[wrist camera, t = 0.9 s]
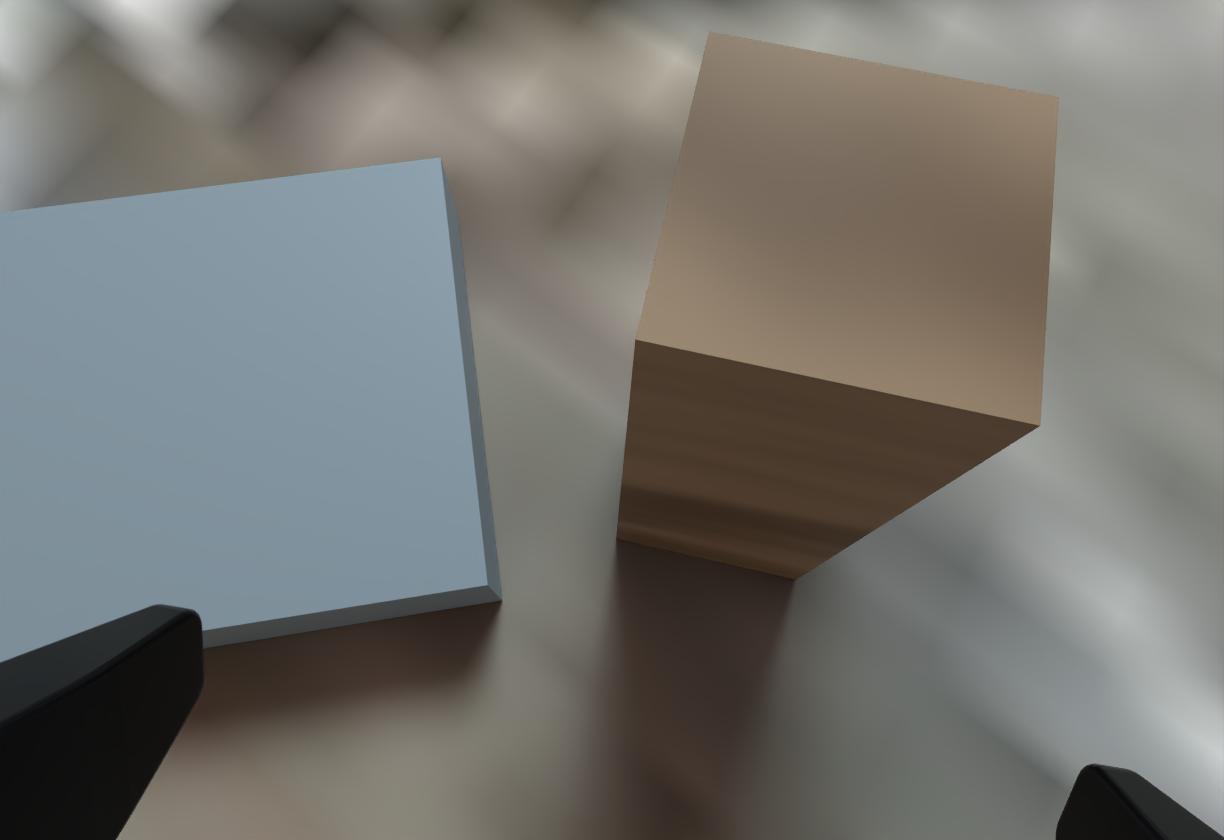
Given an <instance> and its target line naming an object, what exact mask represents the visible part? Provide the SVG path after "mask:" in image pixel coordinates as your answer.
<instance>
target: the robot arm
mask: <svg viewBox="0 0 1224 840" xmlns="http://www.w3.org/2000/svg"><path fill="white" fill-rule="evenodd" d="M204 674H205V672H204V652H203V631H202V621H201V618H200V615H199V614H198V613H197V612H196V611H195V610H193V609H189V608H183V607H177V606H171V605H165V604H156V605H152V606H149V607H147V608H144V609H141V610H139V611H136V612H133V613H131V614H128V615H125V616H123V617H120V618H117V619H115V620H112V621H109V622H107V623H104V624H101V625H99V626H96V627H93V628H91V629H88V630H85V631H83V632H80V633H77V634H75V635H72V636H69V637H67V638H64V639H61V640H58V641H56V642H53V643H50V644H48V645H45V646H42V647H40V648H37V649H34V650H32V651H29V652H26V653H24V654H21V655H18V656H16V657H13V658H10V659H8V660H5V661H2V662H0V840H116V839H117V837H118V836H119V834H120V832H121V831H122V829H123V828H124V826H125V824H126V823H127V821H128V819H129V818H130V816H131V815H132V813H133V811H134V809H135V808H136V806H137V804H138V803H139V801H140V799H141V797H142V796H143V794H144V792H145V790H146V789H147V787H148V785H149V784H150V782H151V780H152V778H153V777H154V775H155V773H156V771H157V770H158V768H159V766H160V765H161V763H162V761H163V759H164V758H165V756H166V754H167V752H168V751H169V749H170V747H171V746H172V744H173V742H174V740H175V739H176V737H177V735H178V733H179V732H180V730H181V728H182V727H183V725H184V723H185V721H186V720H187V718H188V716H189V715H190V713H191V711H192V709H193V708H194V706H195V704H196V702H197V700H198V698H199V696H200V694H201V691H202V688H203V684H204ZM1056 840H1224V837H1223V836H1221V835H1220V834H1219V833H1217V832H1216V831H1215V830H1213V829H1212V828H1210V827H1209V826H1208V825H1206V824H1205V823H1204V822H1202V821H1201V820H1200V819H1198V818H1197V817H1196V816H1194V815H1193V814H1192V813H1190V812H1189V811H1187V810H1186V809H1185V808H1183V807H1182V806H1181V805H1179V804H1178V803H1177V802H1175V801H1174V800H1173V799H1171V798H1170V797H1169V796H1167V795H1166V794H1164V793H1163V792H1162V791H1160V790H1159V789H1158V788H1156V787H1155V786H1154V785H1152V784H1151V783H1150V782H1148V781H1147V780H1146V779H1144V778H1143V777H1141V776H1140V775H1139V774H1137V773H1136V772H1133V771H1131V770H1128V769H1123V768H1118V767H1112V766H1106V765H1100V764H1090V765H1087V766H1085V767H1084V768H1083V769H1082V770H1081V771H1080V773H1079V775H1078V777H1077V779H1076V782H1075V784H1074V786H1073V789H1072V791H1071V793H1070V796H1069V798H1068V800H1067V803H1066V805H1065V807H1064V810H1063V812H1062V814H1061V817H1060V819H1059V822H1058V825H1057V829H1056Z"/></svg>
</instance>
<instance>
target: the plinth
mask: <svg viewBox="0 0 1224 840" xmlns="http://www.w3.org/2000/svg"><path fill="white" fill-rule="evenodd" d="M501 600H502V593H501V584H500V575H499V567H498V558H497V549H496V541H495V532H494V523H493V515H492V506H491V497H490V489H489V480H488V471H487V463H486V454H485V446H484V437H483V428H482V420H481V411H480V402H479V394H478V385H477V376H476V368H475V359H474V350H473V342H472V333H471V324H470V316H469V307H468V298H467V290H466V281H465V273H464V264H463V255H462V247H461V238H460V229H459V221H458V215H457V212H456V209H455V205H454V202H453V198H452V195H451V192H450V188H449V185H448V181H447V178H446V175H445V171H444V168H443V164H442V161H441V158H433V159H425V160H417V161H409V162H401V163H393V164H385V165H377V166H369V167H361V168H353V169H345V170H337V171H329V172H321V173H313V174H305V175H297V176H289V177H281V178H273V179H265V180H257V181H249V182H241V183H233V184H225V185H217V186H209V187H201V188H193V189H185V190H177V191H169V192H161V193H153V194H145V195H137V196H130V197H122V198H114V199H106V200H98V201H90V202H82V203H74V204H66V205H58V206H50V207H42V208H34V209H26V210H18V211H10V212H2V213H0V662H2V661H5V660H8V659H10V658H13V657H16V656H18V655H21V654H24V653H26V652H29V651H32V650H34V649H37V648H40V647H42V646H45V645H48V644H50V643H53V642H56V641H58V640H61V639H64V638H67V637H69V636H72V635H75V634H77V633H80V632H83V631H85V630H88V629H91V628H93V627H96V626H99V625H101V624H104V623H107V622H109V621H112V620H115V619H117V618H120V617H123V616H125V615H128V614H131V613H133V612H136V611H139V610H141V609H144V608H147V607H149V606H152V605H156V604H165V605H171V606H177V607H183V608H189V609H193V610H195V611H196V612H197V613H198V614H199V615H200V618H201V621H202V631H203V649H204V648H210V647H216V646H222V645H229V644H235V643H241V642H247V641H253V640H260V639H266V638H272V637H278V636H284V635H291V634H297V633H303V632H309V631H315V630H322V629H328V628H334V627H340V626H346V625H352V624H359V623H365V622H371V621H377V620H383V619H390V618H396V617H402V616H408V615H414V614H421V613H427V612H433V611H439V610H445V609H452V608H458V607H464V606H470V605H476V604H483V603H489V602H495V601H501Z"/></svg>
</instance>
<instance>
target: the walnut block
mask: <svg viewBox="0 0 1224 840" xmlns="http://www.w3.org/2000/svg"><path fill="white" fill-rule="evenodd" d="M1058 102H1059V97H1054V96H1049V95H1043V94H1038V93H1033V92H1027V91H1022V90H1017V89H1011V88H1006V87H1001V86H995V85H990V84H985V83H980V82H974V81H969V80H964V79H958V78H953V77H948V76H942V75H937V74H932V73H927V72H921V71H916V70H911V69H905V68H900V67H895V66H889V65H884V64H879V63H873V62H868V61H863V60H858V59H852V58H847V57H842V56H836V55H831V54H826V53H820V52H815V51H810V50H804V49H799V48H794V47H789V46H783V45H778V44H773V43H767V42H762V41H757V40H751V39H746V38H741V37H736V36H730V35H725V34H720V33H714V32H709V34H708V39H707V43H706V47H705V51H704V55H703V60H702V64H701V68H700V72H699V76H698V80H697V85H696V89H695V93H694V97H693V101H692V106H691V110H690V114H689V118H688V122H687V126H686V131H685V135H684V139H683V143H682V147H681V151H680V156H679V160H678V164H677V168H676V172H675V177H674V181H673V185H672V189H671V193H670V197H669V202H668V206H667V210H666V214H665V218H664V222H663V227H662V231H661V235H660V239H659V243H658V248H657V252H656V256H655V260H654V264H653V268H652V273H651V277H650V281H649V285H648V289H647V293H646V298H645V302H644V306H643V310H642V314H641V319H640V323H639V327H638V331H637V335H636V339H635V350H634V360H633V370H632V381H631V391H630V401H629V412H628V422H627V433H626V443H625V453H624V464H623V474H622V484H621V495H620V505H619V515H618V526H617V536H616V539H620V540H625V541H629V542H633V543H638V544H642V545H647V546H651V547H655V548H660V549H664V550H668V551H673V552H677V553H682V554H686V555H690V556H695V557H699V558H703V559H708V560H712V561H717V562H721V563H725V564H730V565H734V566H739V567H743V568H747V569H752V570H756V571H760V572H765V573H769V574H774V575H778V576H782V577H787V578H791V579H795V580H796V579H798V578H799V577H801V576H802V575H804V574H805V573H807V572H809V571H810V570H812V569H813V568H815V567H817V566H818V565H820V564H821V563H823V562H825V561H826V560H828V559H829V558H831V557H832V556H834V555H836V554H837V553H839V552H840V551H842V550H844V549H845V548H847V547H848V546H850V545H852V544H853V543H855V542H856V541H858V540H859V539H861V538H863V537H864V536H866V535H867V534H869V533H871V532H872V531H874V530H875V529H877V528H879V527H880V526H882V525H883V524H885V523H886V522H888V521H890V520H891V519H893V518H894V517H896V516H898V515H899V514H901V513H902V512H904V511H906V510H907V509H909V508H910V507H912V506H913V505H915V504H917V503H918V502H920V501H921V500H923V499H925V498H926V497H928V496H929V495H931V494H933V493H934V492H936V491H937V490H939V489H940V488H942V487H944V486H945V485H947V484H948V483H950V482H952V481H953V480H955V479H956V478H958V477H960V476H961V475H963V474H964V473H966V472H967V471H969V470H971V469H972V468H974V467H975V466H977V465H979V464H980V463H982V462H983V461H985V460H986V459H988V458H990V457H991V456H993V455H994V454H996V453H998V452H999V451H1001V450H1002V449H1004V448H1006V447H1007V446H1009V445H1010V444H1012V443H1013V442H1015V441H1017V440H1018V439H1020V438H1021V437H1023V436H1025V435H1026V434H1028V433H1029V432H1031V431H1033V430H1034V429H1036V428H1037V427H1039V426H1040V421H1041V403H1042V385H1043V368H1044V350H1045V332H1046V314H1047V297H1048V279H1049V261H1050V244H1051V226H1052V208H1053V190H1054V173H1055V155H1056V137H1057V119H1058Z"/></svg>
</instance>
